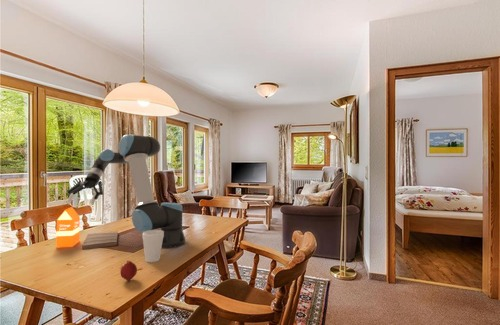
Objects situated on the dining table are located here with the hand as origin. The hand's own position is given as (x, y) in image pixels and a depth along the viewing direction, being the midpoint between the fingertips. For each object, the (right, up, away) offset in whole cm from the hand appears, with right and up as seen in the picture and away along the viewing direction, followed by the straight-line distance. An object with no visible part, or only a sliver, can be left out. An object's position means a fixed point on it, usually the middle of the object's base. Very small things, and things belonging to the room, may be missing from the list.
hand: (79, 203), depth 148 cm
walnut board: (+16, -21, -4) cm, 27 cm away
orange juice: (+1, -21, -10) cm, 24 cm away
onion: (+54, -22, -50) cm, 77 cm away
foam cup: (+55, -22, -30) cm, 66 cm away
